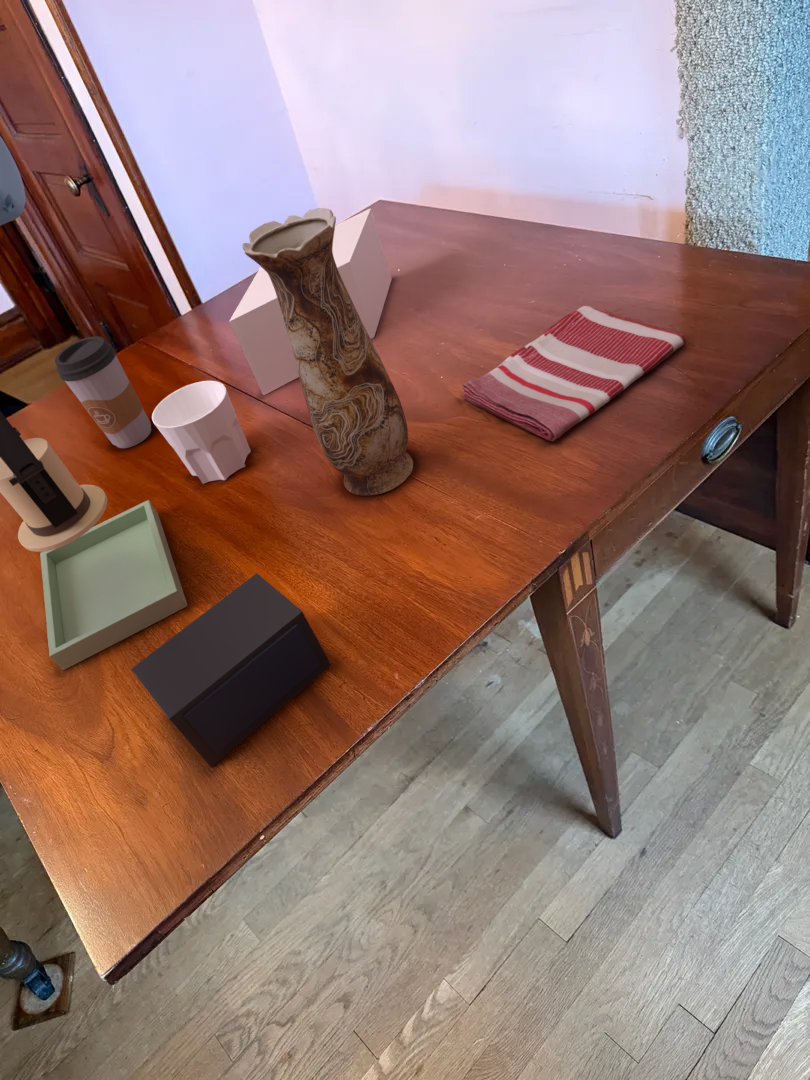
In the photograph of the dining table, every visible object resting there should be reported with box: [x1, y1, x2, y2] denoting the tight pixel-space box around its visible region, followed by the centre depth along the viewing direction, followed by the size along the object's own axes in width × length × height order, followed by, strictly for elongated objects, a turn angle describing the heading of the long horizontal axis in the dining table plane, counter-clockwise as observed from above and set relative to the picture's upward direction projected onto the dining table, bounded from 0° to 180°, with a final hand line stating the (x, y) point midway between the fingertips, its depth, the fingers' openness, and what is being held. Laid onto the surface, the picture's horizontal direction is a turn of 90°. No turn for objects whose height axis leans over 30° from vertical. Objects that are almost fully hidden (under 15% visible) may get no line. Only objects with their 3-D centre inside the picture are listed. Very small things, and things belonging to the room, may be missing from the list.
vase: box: [241, 207, 414, 496], centre depth 81 cm, size 10×11×30 cm
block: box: [228, 207, 393, 396], centre depth 117 cm, size 18×35×12 cm, turn 145°
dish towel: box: [462, 305, 687, 442], centre depth 94 cm, size 17×23×3 cm
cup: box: [151, 380, 252, 485], centre depth 98 cm, size 10×10×10 cm
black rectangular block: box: [130, 572, 332, 768], centre depth 68 cm, size 14×8×8 cm, turn 130°
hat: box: [0, 437, 108, 553], centre depth 78 cm, size 10×10×9 cm
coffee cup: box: [54, 335, 152, 449], centre depth 108 cm, size 8×8×15 cm
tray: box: [39, 499, 188, 671], centre depth 88 cm, size 20×15×3 cm
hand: (53, 505), depth 80 cm, fingers closed on hat, 7 cm apart
